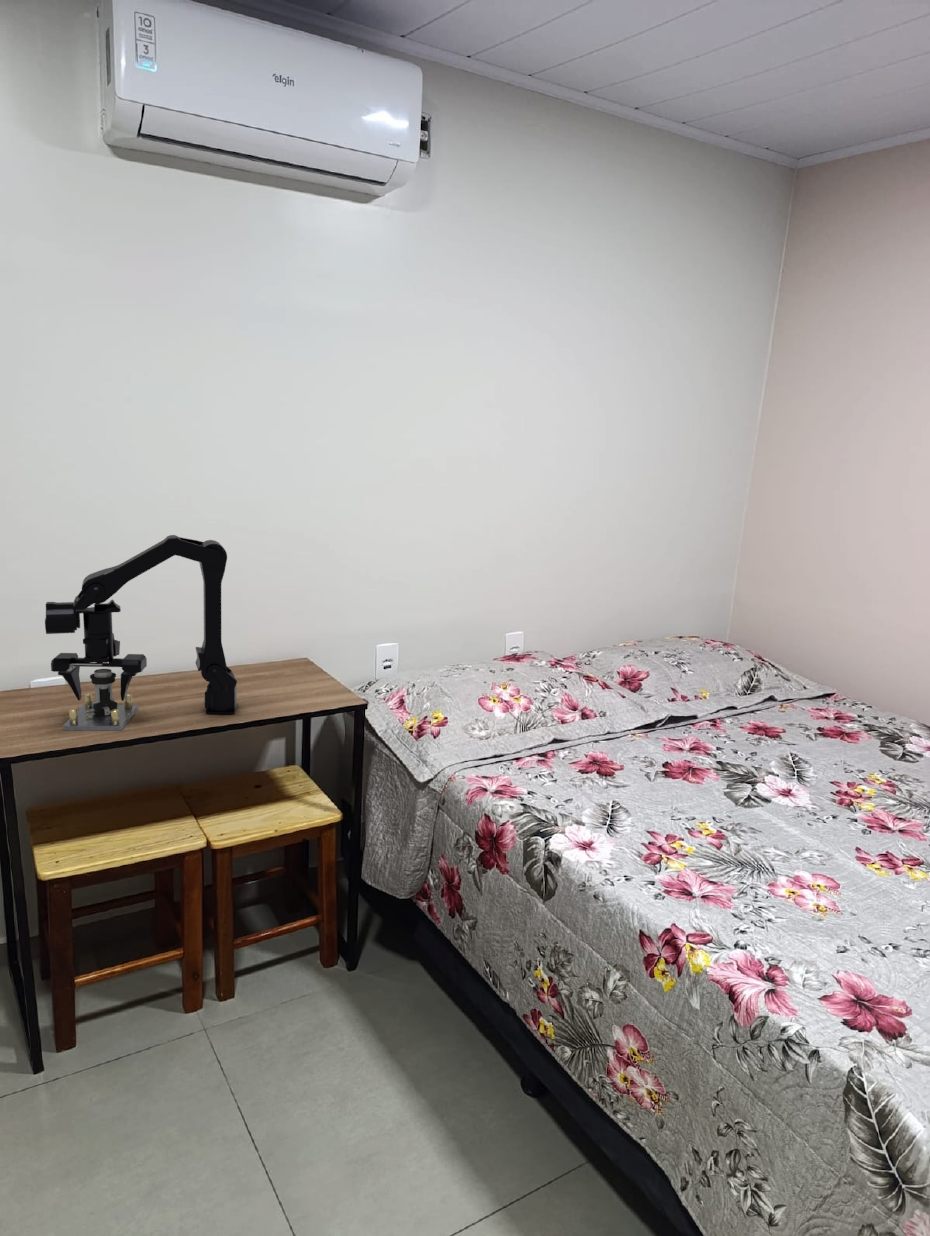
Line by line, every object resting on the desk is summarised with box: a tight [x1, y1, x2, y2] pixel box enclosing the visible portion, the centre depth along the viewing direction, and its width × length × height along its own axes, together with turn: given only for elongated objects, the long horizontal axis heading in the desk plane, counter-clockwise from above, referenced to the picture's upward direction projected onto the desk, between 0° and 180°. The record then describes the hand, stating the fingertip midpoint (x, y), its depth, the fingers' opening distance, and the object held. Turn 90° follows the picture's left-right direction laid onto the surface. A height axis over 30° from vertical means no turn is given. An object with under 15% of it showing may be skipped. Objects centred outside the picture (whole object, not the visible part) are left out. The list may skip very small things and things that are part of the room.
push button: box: [86, 668, 118, 717], centre depth 189 cm, size 7×5×10 cm
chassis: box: [62, 692, 139, 732], centre depth 190 cm, size 12×14×4 cm
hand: (101, 699), depth 189 cm, fingers open, 9 cm apart
